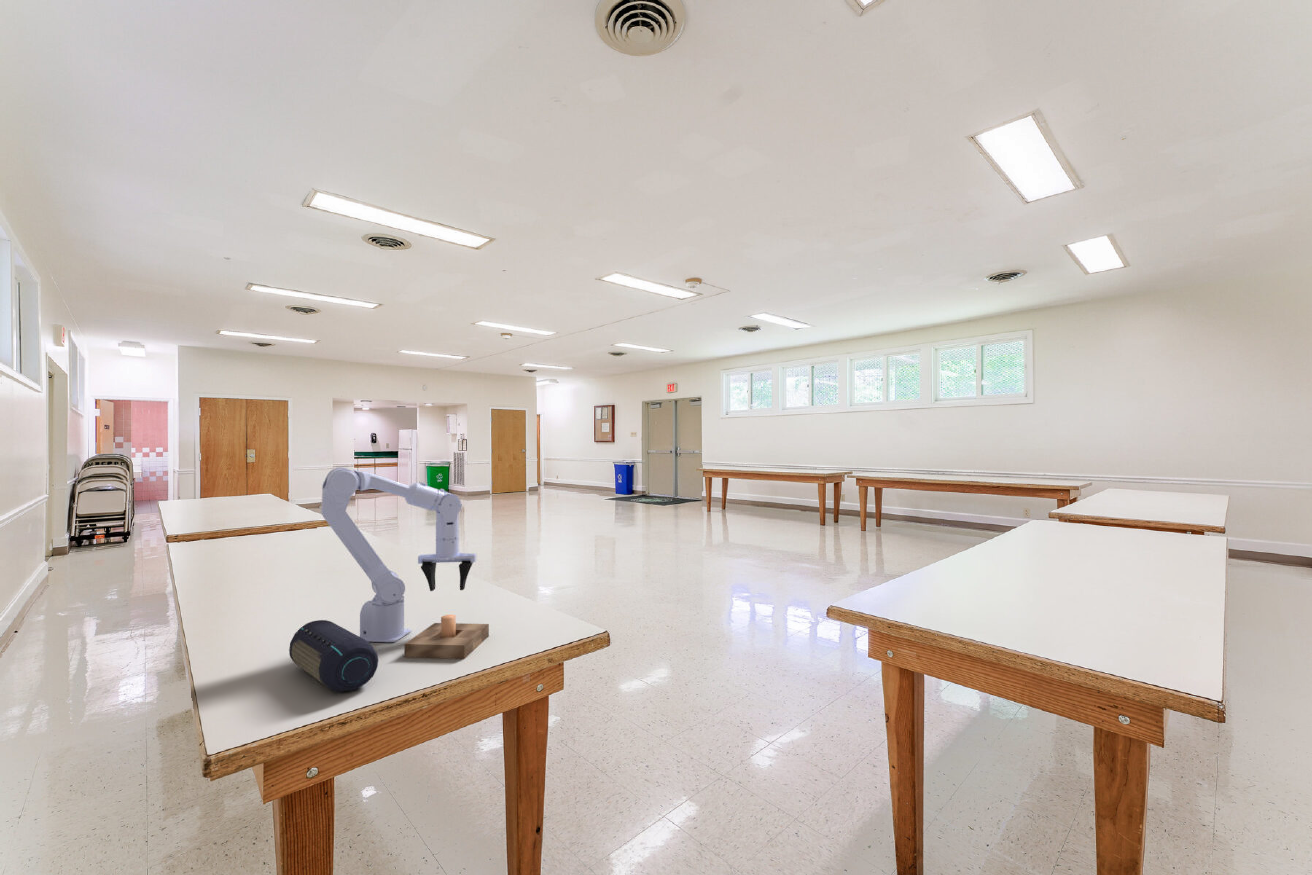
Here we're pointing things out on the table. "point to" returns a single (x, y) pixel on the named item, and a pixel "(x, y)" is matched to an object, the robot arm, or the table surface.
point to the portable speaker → (333, 655)
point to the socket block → (446, 642)
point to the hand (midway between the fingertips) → (447, 589)
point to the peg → (448, 626)
